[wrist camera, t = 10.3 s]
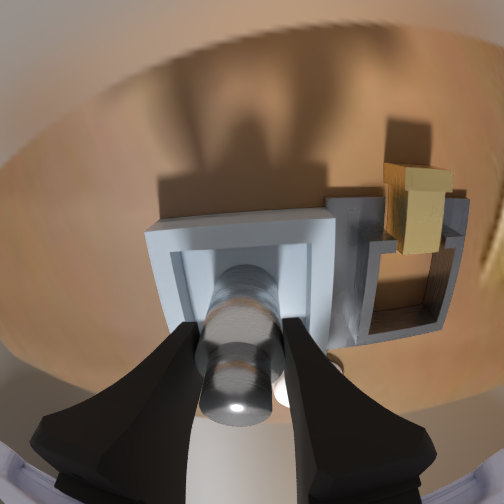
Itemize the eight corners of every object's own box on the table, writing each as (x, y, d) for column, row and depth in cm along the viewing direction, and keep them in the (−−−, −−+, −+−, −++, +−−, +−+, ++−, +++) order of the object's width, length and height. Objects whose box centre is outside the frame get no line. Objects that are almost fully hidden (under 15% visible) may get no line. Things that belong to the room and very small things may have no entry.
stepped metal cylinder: (276, 262, 13) (290, 373, 6) (279, 317, 14) (288, 431, 8) (210, 266, 13) (170, 373, 7) (218, 319, 14) (195, 431, 8)
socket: (465, 197, 12) (487, 206, 10) (439, 326, 15) (452, 343, 13) (324, 196, 12) (335, 206, 10) (319, 346, 16) (324, 369, 14)
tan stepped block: (428, 165, 11) (453, 171, 9) (423, 238, 13) (444, 253, 11) (383, 162, 12) (405, 167, 9) (381, 240, 13) (399, 257, 11)
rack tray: (324, 207, 12) (335, 218, 11) (319, 340, 15) (325, 363, 14) (159, 219, 13) (144, 231, 11) (188, 345, 16) (181, 367, 14)
